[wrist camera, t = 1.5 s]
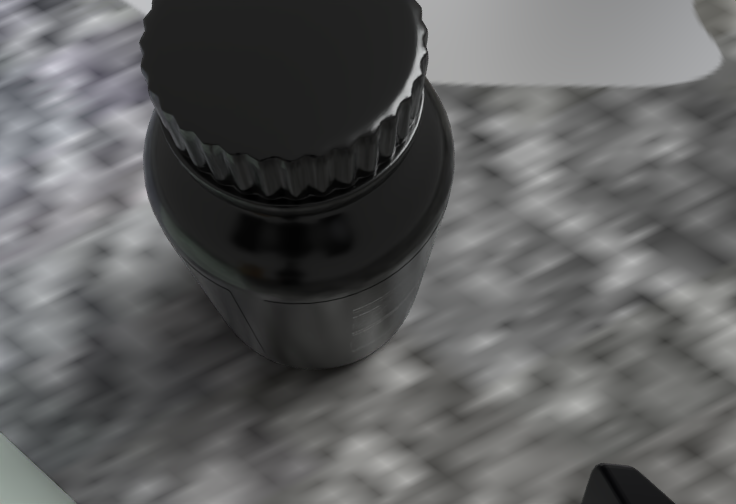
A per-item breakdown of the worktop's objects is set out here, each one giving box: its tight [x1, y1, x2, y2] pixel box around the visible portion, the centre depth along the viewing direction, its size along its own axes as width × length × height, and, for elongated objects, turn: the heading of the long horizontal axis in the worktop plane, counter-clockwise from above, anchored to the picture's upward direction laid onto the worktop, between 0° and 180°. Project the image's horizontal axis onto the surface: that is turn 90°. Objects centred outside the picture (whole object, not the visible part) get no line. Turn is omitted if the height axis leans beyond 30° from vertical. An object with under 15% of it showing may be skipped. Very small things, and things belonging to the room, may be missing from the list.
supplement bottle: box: [139, 0, 455, 370], centre depth 16 cm, size 7×7×12 cm
